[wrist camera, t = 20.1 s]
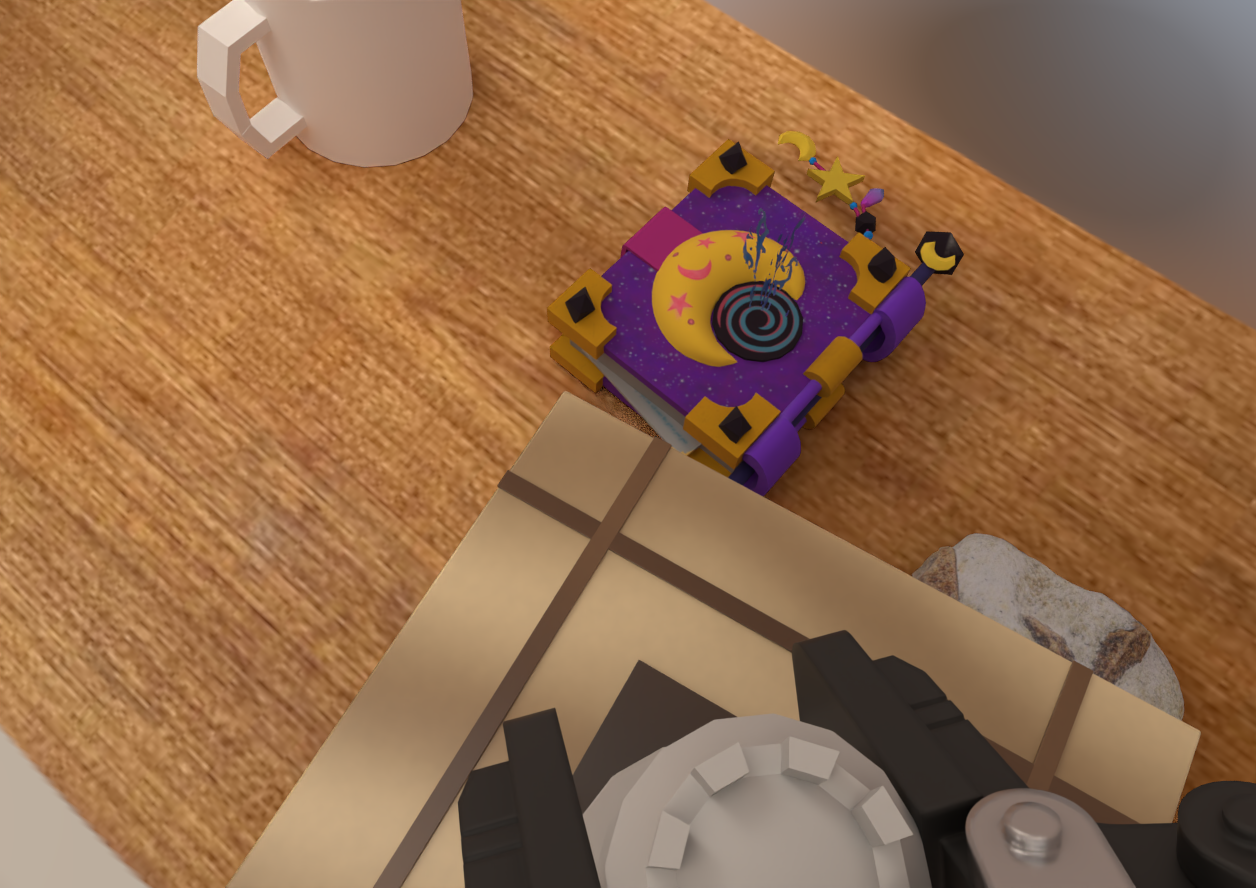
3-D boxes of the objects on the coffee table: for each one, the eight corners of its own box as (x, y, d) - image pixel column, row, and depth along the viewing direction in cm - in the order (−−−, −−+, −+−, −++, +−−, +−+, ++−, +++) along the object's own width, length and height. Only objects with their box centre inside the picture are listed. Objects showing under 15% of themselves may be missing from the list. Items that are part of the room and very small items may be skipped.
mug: (332, 242, 50) (270, 85, 40) (192, 137, 53) (102, -34, 43) (512, 83, 55) (495, -92, 45) (376, -7, 57) (332, -191, 47)
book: (989, 285, 51) (1103, 112, 39) (668, 657, 42) (697, 573, 31) (762, 129, 54) (807, -69, 43) (425, 445, 46) (372, 302, 35)
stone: (1191, 672, 43) (1236, 654, 40) (1108, 864, 40) (1150, 862, 37) (940, 521, 45) (965, 494, 42) (842, 691, 42) (862, 675, 39)
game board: (883, 1589, 15) (908, 1650, 14) (139, 1044, 17) (106, 1055, 16) (1169, 740, 20) (1205, 730, 19) (565, 413, 22) (564, 386, 21)
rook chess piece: (608, 1093, 15) (625, 1267, 8) (530, 795, 17) (484, 712, 10) (879, 991, 16) (1124, 1065, 9) (777, 715, 18) (910, 582, 10)
